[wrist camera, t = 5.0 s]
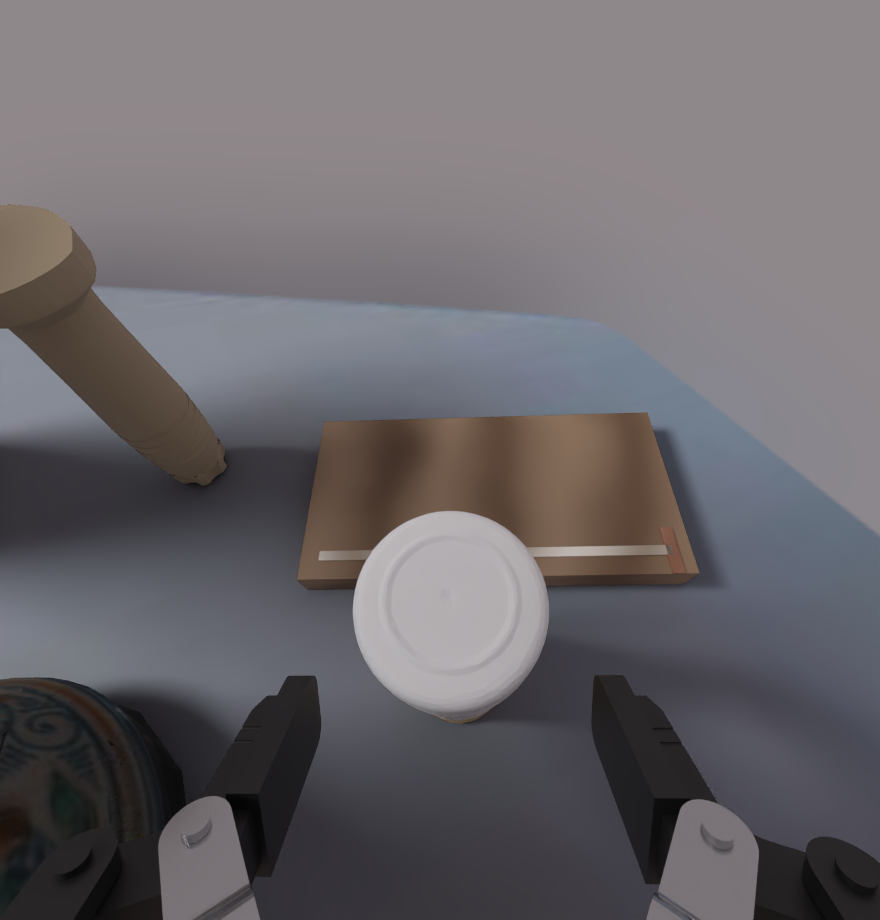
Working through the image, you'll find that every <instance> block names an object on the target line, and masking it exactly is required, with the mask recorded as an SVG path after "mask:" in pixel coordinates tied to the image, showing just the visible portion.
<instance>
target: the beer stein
mask: <svg viewBox="0 0 880 920" xmlns="http://www.w3.org/2000/svg"><path fill="white" fill-rule="evenodd" d="M185 806H186V803H185V794H184V786H183V777H182V771H181V770H180V768H179V767H178V766H177V764H176V763H175V761H174V760H173V759H172V757H171V756H170V754H169V753H168V752H167V750H166V749H165V747H164V746H163V745H162V743H161V742H160V740H159V739H158V738H157V736H156V735H155V733H154V732H153V731H152V729H151V728H150V726H149V725H148V724H147V722H146V721H145V719H144V718H143V716H142V715H141V714H140V713H139V712H136V711H134V710H131V709H128V708H125V707H123V706H120V705H117V704H114V703H113V702H112V701H110V700H109V699H108V698H106V697H105V696H104V695H102V694H100V693H98V692H97V691H95V690H93V689H91V688H90V687H88V686H84V685H81V684H77V683H74V682H71V681H67V680H61V679H55V678H10V679H3V680H0V917H1V915H2V914H3V913H4V911H5V910H6V909H7V908H8V906H9V905H10V904H11V902H12V901H13V900H14V898H15V897H16V896H17V895H18V893H19V892H20V891H21V889H22V888H23V887H24V885H25V884H26V883H27V882H28V880H29V879H30V878H31V876H32V875H33V874H34V872H35V871H36V870H37V869H38V867H39V866H40V865H41V864H42V862H43V861H44V860H45V859H46V858H47V857H48V856H49V855H50V854H51V853H52V852H53V851H54V850H55V849H57V848H58V847H59V846H60V845H62V844H63V843H64V842H66V841H67V840H69V839H71V838H72V837H74V836H76V835H78V834H80V833H82V832H85V831H87V830H91V829H95V828H107V829H110V830H112V831H113V832H114V833H115V834H116V837H117V841H118V844H121V843H124V842H127V841H130V840H133V839H137V838H140V837H143V836H146V835H150V834H153V833H156V832H159V831H161V830H163V829H164V828H165V826H166V825H167V824H168V822H169V821H170V820H171V819H172V817H173V816H174V815H175V814H176V813H178V812H179V811H180V810H181V809H182V808H184V807H185Z"/></svg>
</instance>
